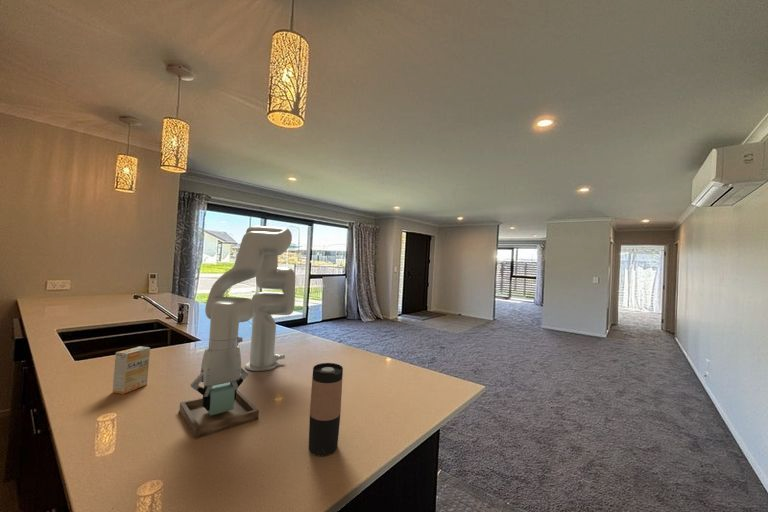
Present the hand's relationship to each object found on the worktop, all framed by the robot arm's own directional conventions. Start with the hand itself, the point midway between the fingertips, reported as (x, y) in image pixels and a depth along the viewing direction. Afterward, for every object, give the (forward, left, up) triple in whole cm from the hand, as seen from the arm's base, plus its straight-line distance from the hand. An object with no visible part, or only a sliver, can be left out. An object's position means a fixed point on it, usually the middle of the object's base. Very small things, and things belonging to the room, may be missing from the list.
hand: (219, 404), depth 91 cm
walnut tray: (0, 0, -3) cm, 3 cm away
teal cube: (0, 0, -1) cm, 1 cm away
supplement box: (+17, -35, -3) cm, 39 cm away
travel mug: (-15, +32, -3) cm, 36 cm away
